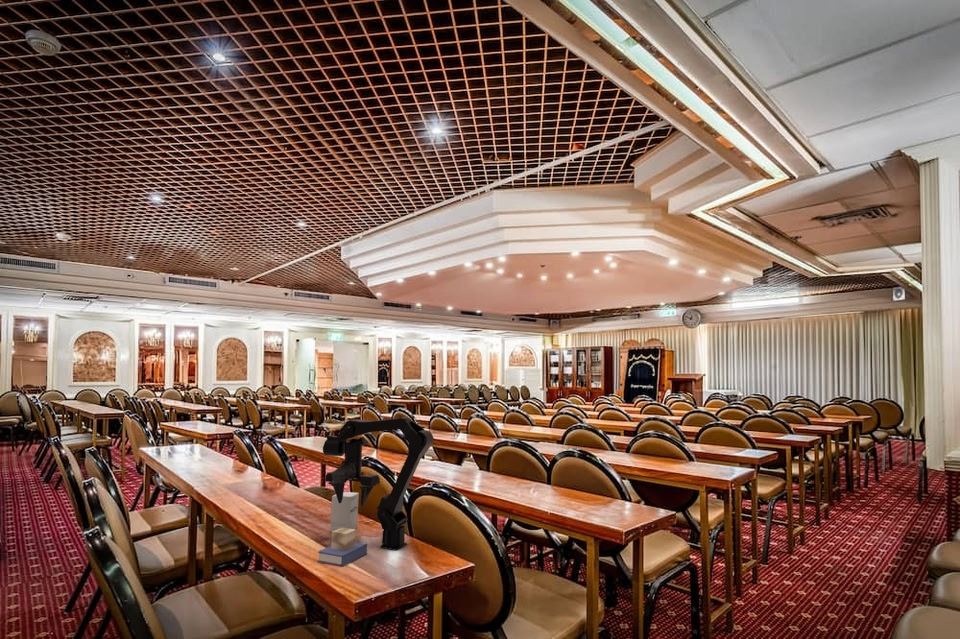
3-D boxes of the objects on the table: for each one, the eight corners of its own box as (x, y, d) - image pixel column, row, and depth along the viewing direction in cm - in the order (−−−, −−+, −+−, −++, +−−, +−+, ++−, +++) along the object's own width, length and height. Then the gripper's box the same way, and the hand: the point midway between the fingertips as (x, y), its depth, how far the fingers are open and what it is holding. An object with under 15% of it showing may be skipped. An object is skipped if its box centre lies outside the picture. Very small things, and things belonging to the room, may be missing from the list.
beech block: (355, 546, 158) (355, 529, 158) (344, 551, 153) (345, 533, 154) (341, 544, 160) (342, 527, 160) (331, 548, 155) (332, 531, 156)
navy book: (366, 554, 160) (367, 544, 160) (342, 566, 149) (342, 555, 149) (343, 550, 163) (343, 540, 164) (317, 562, 152) (318, 551, 153)
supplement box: (348, 533, 181) (350, 496, 182) (329, 532, 182) (331, 495, 184) (357, 528, 188) (359, 492, 189) (339, 526, 189) (340, 491, 191)
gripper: (315, 458, 172) (312, 506, 170) (361, 462, 164) (359, 513, 163) (336, 454, 182) (334, 499, 180) (381, 457, 175) (379, 505, 173)
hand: (351, 504), depth 173 cm, fingers open, 9 cm apart
